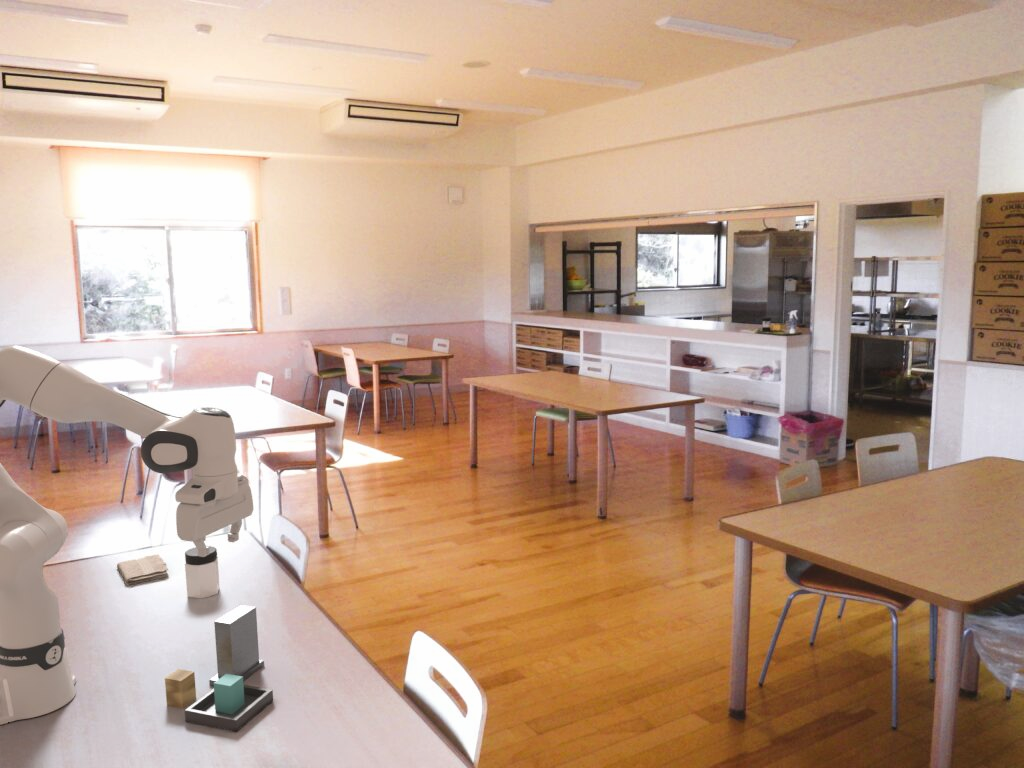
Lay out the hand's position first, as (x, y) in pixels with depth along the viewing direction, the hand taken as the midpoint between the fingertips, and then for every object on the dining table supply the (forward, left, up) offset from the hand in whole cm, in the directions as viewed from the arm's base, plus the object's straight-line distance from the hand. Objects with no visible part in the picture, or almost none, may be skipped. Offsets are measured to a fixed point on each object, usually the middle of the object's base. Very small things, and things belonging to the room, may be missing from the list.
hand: (219, 548), depth 175 cm
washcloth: (-65, +46, -31) cm, 85 cm away
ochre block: (-4, -10, -30) cm, 32 cm away
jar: (-38, +39, -30) cm, 62 cm away
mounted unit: (0, +3, -30) cm, 30 cm away
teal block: (+8, -10, -29) cm, 32 cm away
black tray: (+8, -10, -30) cm, 33 cm away
